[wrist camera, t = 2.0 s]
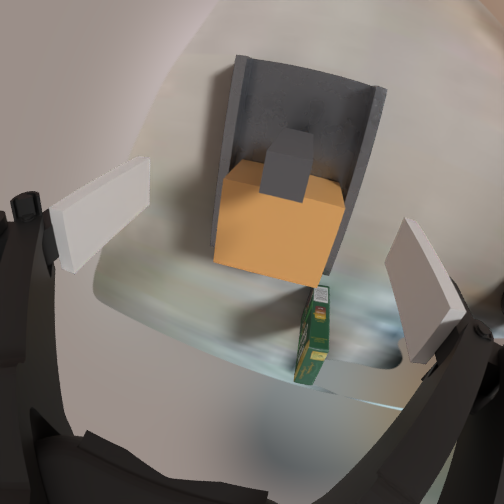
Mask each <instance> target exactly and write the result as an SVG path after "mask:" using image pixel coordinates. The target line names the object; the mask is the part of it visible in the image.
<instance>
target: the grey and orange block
mask: <svg viewBox="0 0 504 504" xmlns="http://www.w3.org/2000/svg"><path fill="white" fill-rule="evenodd" d="M313 135H314V134H311V133H307V132H303V131H299V130H294V129H290V128H286V127H285V128H284V129H283V130H282V131H281V133H280V134H279V135H278V137H277V138H276V139H275V140H274V142H273V143H272V144H271V146H270V147H269V148H268V150H267V152H266V157H265V162H264V164H263V163H258V162H253V161H249V160H244V159H242V160H241V161H240V162H239V163H238V164H237V165H236V166H235V167H234V168H233V169H232V170H231V171H230V172H229V173H228V174H227V175H226V177H225V178H224V179H223V186H222V193H221V201H220V209H219V217H218V226H217V234H216V243H215V252H214V261H213V262H215V263H219V264H222V265H226V266H230V267H234V268H238V269H242V270H246V271H249V272H253V273H257V274H261V275H265V276H269V277H273V278H277V279H281V280H285V281H289V282H293V283H297V284H301V285H305V286H309V287H313V288H317V287H318V284H319V281H320V279H321V276H322V273H323V271H324V268H325V265H326V263H327V260H328V257H329V254H330V252H331V249H332V246H333V243H334V240H335V237H336V235H337V232H338V229H339V226H340V223H341V220H342V217H343V214H344V211H345V205H344V200H343V196H342V191H341V187H340V183H339V182H335V181H332V180H328V179H324V178H321V177H317V176H313V175H310V172H311V168H312V164H313Z"/></svg>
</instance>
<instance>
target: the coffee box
mask: <svg viewBox="0 0 504 504" xmlns="http://www.w3.org/2000/svg"><path fill="white" fill-rule="evenodd" d="M329 323H330V294H329V287H328V286H322V285H318V287H317V288H313V287H312V289H311V292H310V295H309V297H308V300H307V303H306V306H305V309H304V312H303V315H302V318H301V326H300V336H299V344H298V353H297V360H296V368H295V374H294V382H296V383H300V384H305V385H313V383H314V381H315V379H316V377H317V375H318V373H319V371H320V368H321V367H322V364H323V362H324V360H325V358H326V356H327V354H328V352H329Z"/></svg>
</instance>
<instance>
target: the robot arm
mask: <svg viewBox="0 0 504 504" xmlns="http://www.w3.org/2000/svg"><path fill="white" fill-rule="evenodd" d="M10 203H11V208H12V213H13V217H14V222H7V219H6V215H5V212H4V211H0V504H278V503H276V502H274V501H272V500H269V499H267V496H268V491H263V490H256V489H251V488H246V487H241V486H237V485H232V484H227V483H223V482H211V481H193V480H182V479H172V478H168V477H165V476H164V475H162V474H161V473H159V472H157V471H156V470H154V469H153V468H151V467H150V466H148V465H147V464H145V463H144V462H143V461H141V460H140V459H139V458H137V457H136V456H134V455H133V454H132V453H130V452H129V451H128V450H126V449H124V448H122V447H120V446H118V445H116V444H113V443H111V442H110V441H107V440H105V439H103V438H101V437H100V436H98V435H96V434H93V433H91V432H90V431H88V430H87V431H86V433H85V435H84V437H81V436H74V434H73V432H72V430H71V427H70V425H69V423H68V421H67V419H66V416H65V413H64V409H63V402H62V396H61V389H60V382H59V374H58V365H57V354H56V340H55V313H54V295H55V266H54V261H55V260H56V259H57V258H58V257H59V259H60V263H61V267H62V269H63V270H66V271H68V272H71V273H73V274H76V272H78V271H79V269H80V268H82V267H83V266H84V265H85V264H86V263H87V261H89V260H90V259H91V258H92V257H93V256H94V255H95V254H96V253H97V252H98V251H99V250H100V249H101V248H102V247H103V246H104V245H105V244H106V243H107V242H109V241H110V240H111V239H112V238H113V237H114V236H115V235H116V234H117V233H118V232H119V231H120V230H122V229H123V228H124V227H125V226H126V225H127V224H128V223H129V222H131V221H132V220H133V219H134V218H135V217H136V216H137V215H138V214H140V213H141V212H142V211H143V210H144V209H145V208H147V207H148V206H149V205H150V157H143V156H137V157H135V158H133V159H131V160H129V161H127V162H125V163H123V164H122V165H120V166H118V167H116V168H114V169H112V170H110V171H109V172H107V173H105V174H104V175H102V176H100V177H98V178H97V179H95V180H93V181H91V182H90V183H88V184H86V185H84V186H83V187H81V188H80V189H78V190H76V191H75V192H73V193H71V194H70V195H68V196H67V197H65V198H64V199H62V200H60V201H59V202H57V203H56V204H54V205H53V206H51V207H50V208H49V209H47V210H46V211H44V212H43V213H42V208H41V203H40V196H39V193H38V192H35V191H29V192H25V193H21V194H19V195H17V196H16V197H14V198H13V199H12V200H11V201H10ZM385 265H386V268H387V272H388V275H389V278H390V282H391V285H392V289H393V292H394V296H395V299H396V303H397V307H398V311H399V315H400V319H401V323H402V327H403V331H404V336H405V340H406V344H407V349H408V354H409V358H410V362H413V363H422V364H426V363H427V362H428V361H429V360H430V359H431V357H432V356H433V355H434V354H435V356H436V360H437V362H436V363H435V364H434V366H433V367H432V368H431V369H430V370H429V371H428V372H427V373H426V375H424V377H423V378H422V379H421V380H422V381H423V382H422V383H421V385H420V386H419V388H418V389H417V391H416V392H415V394H414V395H413V396H412V398H411V399H410V401H409V402H408V404H407V405H406V406H405V408H404V409H403V410H402V412H401V413H400V414H399V416H398V417H397V418H396V420H395V421H394V422H393V423H392V424H391V426H390V427H389V428H388V430H387V431H386V432H385V433H384V434H383V436H382V437H381V438H380V439H379V440H378V441H377V443H376V444H375V445H374V446H373V447H372V448H371V449H370V451H369V452H368V453H367V454H366V455H365V456H364V457H363V458H362V459H361V460H360V461H359V463H358V464H357V465H356V466H355V467H354V468H353V469H352V470H351V471H350V472H349V473H348V474H347V475H346V476H345V477H344V478H343V479H342V480H341V481H340V482H339V483H337V484H336V485H335V486H334V487H333V488H332V489H331V490H330V491H329V492H328V493H326V494H325V495H324V496H323V497H321V498H320V499H318V500H317V501H315V502H313V503H312V504H420V502H421V501H422V499H423V497H424V496H425V495H426V493H427V492H428V490H429V488H430V487H431V485H432V484H433V482H434V480H435V479H436V477H437V475H438V474H439V472H440V471H441V469H442V467H443V466H444V463H445V462H446V460H447V458H448V457H449V455H450V453H451V451H452V449H453V447H454V445H455V443H456V441H457V443H456V447H455V451H454V455H453V458H452V462H451V465H450V468H449V472H448V475H447V478H446V481H445V484H444V487H443V489H442V492H441V495H440V498H439V500H438V503H437V504H504V345H503V346H501V345H499V344H497V343H495V342H494V338H493V335H492V332H491V331H490V329H489V328H488V327H487V326H486V325H485V324H484V323H483V322H481V321H479V320H476V319H473V317H472V315H471V312H470V310H469V308H468V306H467V304H466V302H465V301H464V298H463V296H462V294H461V292H460V290H459V288H458V286H457V284H456V283H455V282H454V281H453V280H452V279H451V277H450V276H449V275H448V274H447V272H446V270H445V268H444V266H443V264H442V263H441V261H440V259H439V257H438V255H437V254H436V252H435V250H434V249H433V247H432V245H431V243H430V242H429V240H428V238H427V237H426V235H425V234H424V232H423V230H422V229H421V227H420V225H419V224H418V222H417V221H414V220H411V219H408V218H405V217H404V219H403V221H402V224H401V226H400V229H399V231H398V233H397V236H396V238H395V240H394V243H393V245H392V247H391V249H390V251H389V254H388V256H387V258H386V260H385ZM502 311H503V313H504V294H503V297H502Z"/></svg>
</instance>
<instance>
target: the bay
mask: <svg viewBox="0 0 504 504" xmlns="http://www.w3.org/2000/svg"><path fill="white" fill-rule="evenodd" d="M386 94H387V89H385V88H382V87H379V86H370V85H367V84H364V83H361V82H357V81H354V80H351V79H347V78H344V77H340V76H336V75H333V74H329V73H325V72H321V71H317V70H312V69H308V68H303V67H298V66H293V65H288V64H283V63H277V62H271V61H265V60H258V59H252V58H250V57H248V56H242V55H236V59H235V65H234V70H233V76H232V82H231V88H230V95H229V101H228V107H227V114H226V121H225V127H224V134H223V141H222V149H221V156H220V164H219V171H218V179H217V187H216V196H215V204H214V213H213V222H212V232H211V241H210V246H213V247H215V243H216V234H217V226H218V217H219V209H220V201H221V193H222V186H223V179H224V178H225V177H226V175H227V174H228V173H229V172H230V171H231V170H232V169H233V168H234V167H235V166H236V165H237V164H238V163H239V162H240V161H241V160H242V159H244V160H249V161H253V162H258V163H263V164H264V162H265V157H266V152H267V150H268V148H269V147H270V146H271V144H272V143H273V142H274V140H275V139H276V138H277V137H278V135H279V134H280V133H281V131H282V130H283V129H284V128H285V127H286V128H290V129H294V130H299V131H303V132H307V133H311V134H314V135H313V164H312V168H311V172H310V175H313V176H317V177H321V178H324V179H328V180H332V181H335V182H339V183H340V187H341V191H342V196H343V200H344V205H345V211H344V214H343V217H342V220H341V223H340V226H339V229H338V232H337V235H336V237H335V240H334V243H333V246H332V249H331V252H330V254H329V257H328V260H327V263H326V265H325V268H324V271H323V273H322V274H324V275H328V276H329V274H330V272H331V269H332V267H333V264H334V261H335V259H336V256H337V253H338V251H339V248H340V245H341V243H342V240H343V237H344V234H345V231H346V229H347V226H348V223H349V220H350V217H351V214H352V211H353V208H354V205H355V202H356V199H357V196H358V193H359V190H360V187H361V184H362V181H363V177H364V174H365V171H366V168H367V164H368V161H369V158H370V154H371V151H372V147H373V144H374V140H375V137H376V133H377V129H378V125H379V122H380V118H381V114H382V110H383V106H384V102H385V98H386Z"/></svg>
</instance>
